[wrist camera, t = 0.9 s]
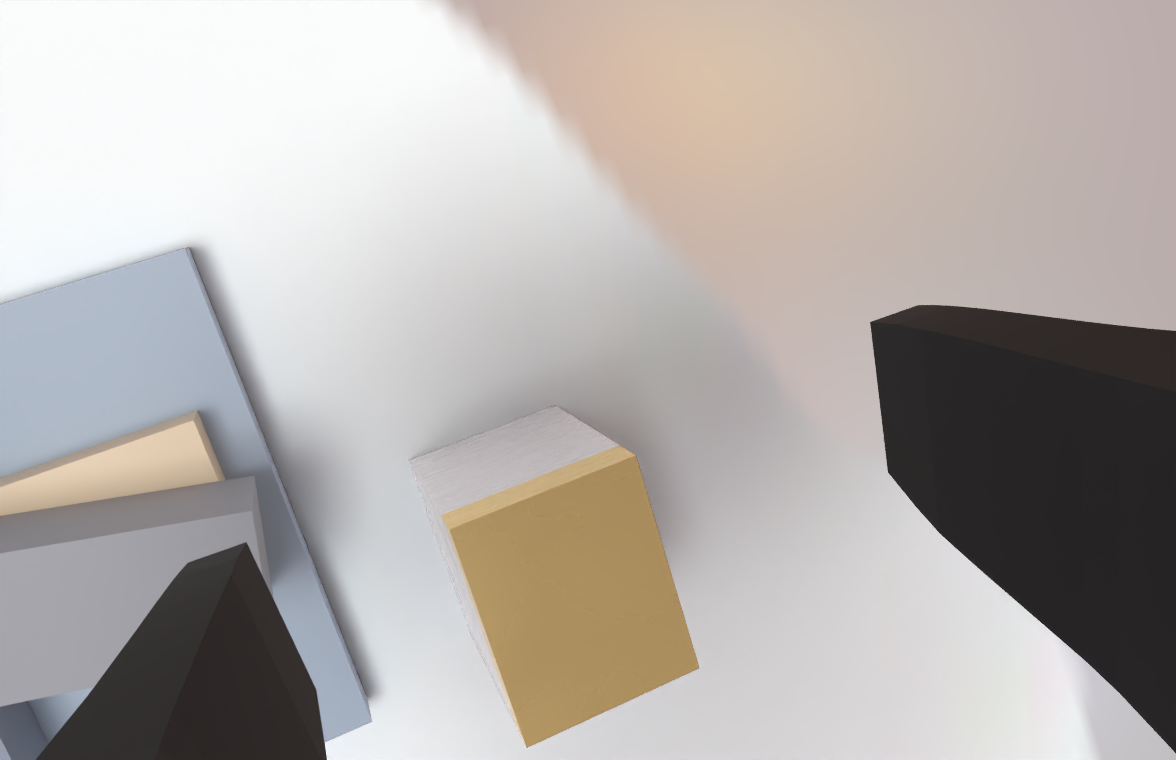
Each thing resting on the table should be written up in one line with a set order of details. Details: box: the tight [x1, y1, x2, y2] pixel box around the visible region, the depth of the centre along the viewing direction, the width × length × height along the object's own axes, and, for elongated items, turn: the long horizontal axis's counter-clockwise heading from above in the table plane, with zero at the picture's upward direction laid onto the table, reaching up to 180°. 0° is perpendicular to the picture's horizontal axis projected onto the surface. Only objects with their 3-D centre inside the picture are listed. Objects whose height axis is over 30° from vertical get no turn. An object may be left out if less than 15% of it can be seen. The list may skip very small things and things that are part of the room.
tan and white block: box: [409, 405, 699, 748], centre depth 23 cm, size 5×4×6 cm
